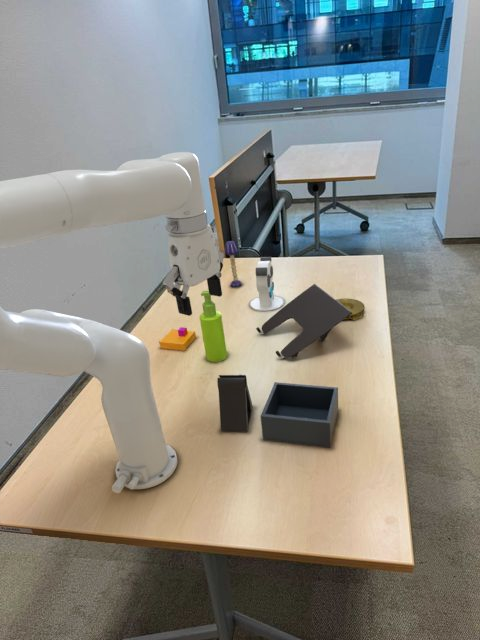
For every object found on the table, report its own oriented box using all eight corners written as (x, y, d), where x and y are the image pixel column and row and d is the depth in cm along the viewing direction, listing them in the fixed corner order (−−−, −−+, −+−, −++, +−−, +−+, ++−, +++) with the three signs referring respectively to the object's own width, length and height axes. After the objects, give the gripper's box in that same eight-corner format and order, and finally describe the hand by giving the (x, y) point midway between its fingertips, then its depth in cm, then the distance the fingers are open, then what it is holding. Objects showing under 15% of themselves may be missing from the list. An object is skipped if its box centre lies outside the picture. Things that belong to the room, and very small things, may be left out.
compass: (324, 321, 148) (324, 314, 147) (327, 304, 158) (327, 298, 157) (364, 321, 146) (364, 315, 145) (364, 304, 156) (364, 298, 155)
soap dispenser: (227, 362, 132) (218, 296, 122) (203, 361, 133) (192, 296, 123) (232, 351, 137) (224, 287, 127) (209, 350, 138) (199, 287, 128)
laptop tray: (266, 343, 151) (251, 323, 145) (324, 299, 151) (311, 278, 146) (296, 380, 132) (280, 359, 127) (362, 330, 132) (349, 306, 127)
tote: (330, 447, 99) (330, 423, 96) (263, 440, 103) (260, 416, 100) (338, 410, 110) (338, 387, 106) (276, 404, 114) (274, 382, 110)
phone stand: (228, 407, 114) (222, 365, 108) (253, 407, 113) (248, 365, 107) (220, 432, 107) (213, 388, 101) (247, 432, 106) (241, 388, 100)
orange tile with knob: (184, 350, 139) (181, 338, 137) (160, 348, 142) (157, 335, 140) (196, 337, 146) (194, 325, 144) (173, 335, 148) (170, 323, 146)
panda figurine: (281, 311, 156) (277, 268, 149) (247, 311, 158) (242, 269, 151) (285, 296, 166) (282, 255, 159) (253, 296, 168) (249, 256, 161)
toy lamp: (227, 287, 178) (221, 244, 169) (231, 282, 182) (226, 239, 173) (239, 287, 176) (234, 244, 168) (243, 282, 180) (238, 239, 172)
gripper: (170, 238, 83) (186, 325, 91) (230, 212, 95) (240, 291, 103) (140, 234, 87) (159, 318, 95) (201, 209, 98) (213, 286, 107)
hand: (201, 304), depth 99 cm, fingers open, 9 cm apart
